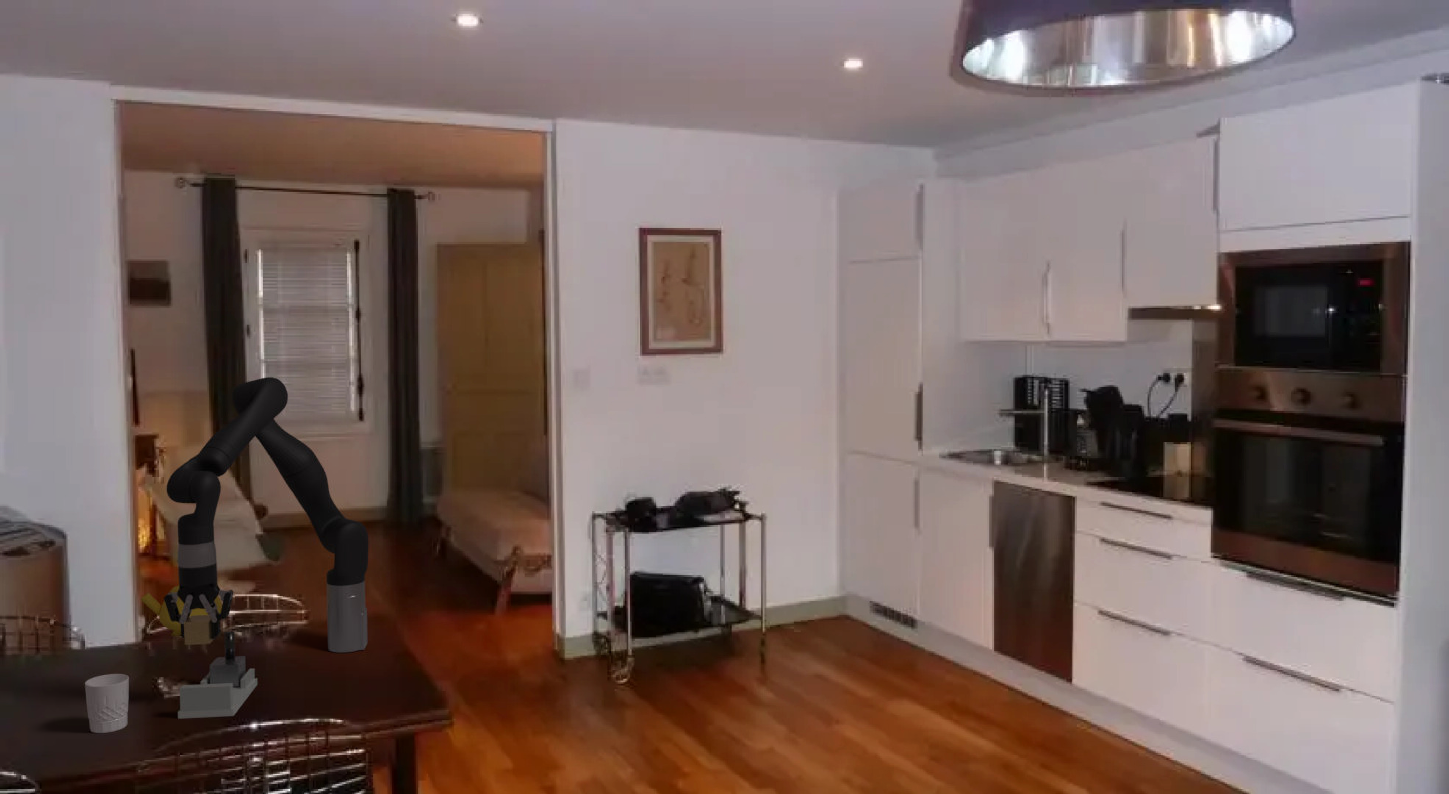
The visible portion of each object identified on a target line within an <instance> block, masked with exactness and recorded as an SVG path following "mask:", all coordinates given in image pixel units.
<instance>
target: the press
mask: <svg viewBox="0 0 1449 794" xmlns="http://www.w3.org/2000/svg"><path fill="white" fill-rule="evenodd" d="M255 670H256V669H255V668H249V669H248V670H247V672H246V674H245V675H244V676H243V678H242V679H241V684H240V685H239V686H233V683H223V684H210V671H208V673H207V674H206V675H205V677H203V678H202V680H201V681H200V684H187V685H186V684H185V685H184V684H183V685H182V686H181V687H179V707H180V709H179V710H178V711H177V719H178V720H179V719H196V718H197V719H199V718H200V719H201V718H202V719H203V718H215V717H216V718H218V717H219V718H220V717H234V716H235V715H236V713H237V712H238V710H239V709H240V708H241V707H242V705H243V704H244V703H245V702H246V700H247V699H248V697H249V696H250V695H251V693H252V692H253V691H254V690H255V689H256V687H257V686H258V678H257V677H256V678H255V676H256V675H255V674H256V673H255V672H256V671H255Z"/></svg>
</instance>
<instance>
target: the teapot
mask: <svg viewBox="0 0 1449 794" xmlns="http://www.w3.org/2000/svg"><path fill="white" fill-rule="evenodd" d="M178 590H179V584H178V585H176V586H174V587H172V588H171V590H170V591H169V592H168V593H170V592H171V593H175V592H178ZM163 600H164V599H163ZM140 601H141V602H142V603H143V604H145V605H146V606H147V607H148V608H149V610H151V611H152V612H154V613H155V614H156V615H157V616H158V617H159V621H160V623H161V624H162V625H163V627H165V628H166V629H167V630H170V631H171V630H172V633H171V634H170V635H171V636H173V637H178V636H181V625H180V623H179V622H176V621H174V622H173V621H171V620H170V616H169V613H168V610H167V607H166V603H165V600H164V601H163V602H162V604H160V603H159V602H158V600H157V599H155V598H154V597H153V596H152V595H151V593H149V592H147V593H145V594H144V595H143V596H142V597H141V598H140ZM214 601H215V603H216V605H217V610H218V612H219V614H220V613H221V609H222V604H223V601H222V600H221V597H220V595H218V596H217V598H216V599H215V600H214ZM176 604H177V607H178V610H179V613H180V615H182V610H183V607H184V603H183V602H182V600H181V599H180V598H179V597H178V600H177V601H176ZM196 615H209V614H207V612H206V610H205V609H200V608H197V609H193V610H192V612H191V614H190V617H191V616H196Z"/></svg>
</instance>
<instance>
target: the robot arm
mask: <svg viewBox="0 0 1449 794" xmlns="http://www.w3.org/2000/svg"><path fill="white" fill-rule="evenodd" d="M288 395H289V394H288V390H287V388H286V386H285V384H284V383H283V381H281V380H280V379H278V378H276V377H272V376H270V377H269V376H268V377H262V378H258V379H255V380H250V381H246V382H242V383H240V384H238V385H235V387H234V388H233V390H232V392H231V399H232V403H233V404H232V405H233V408H234V410H235V412H236V413H237V416H236V417H235V418H233V419H232V420H231V421H230V422H228V423H227V424H225V425H224V426H223V427H221V428H220V429H219V430H218V431H217V432H215V433H214V434H213V435H212V436H211V437H210V438H209V439H208V440H207V442H206V443H205V444H204V446H203V447H202V448H201V450H200V451H199V452H198V454H196V455H194V456H193V457H191V458H190V459H189V460H187V461H186V462H185V463H183V464H181V466H179V467H178V468H176V469H175V470H174V471H173V472H172V474H171V475H170V477H169V478H168V480H167V483H166V494H167V497H168V498H169V499H170V500H171V501H173V502H175V503H177V504H196V505H195V509H194V511H193V512H191V513H188V514H184V515H182V516H180V517H179V518H178V520H177V541H178V543H177V544H178V546H177V560H176V561H177V562H176V563H177V567H178V568H177V569H178V570H177V571H178V585H179V590H178V592H175V593H171V592H170V591H169V592H170V593H169V592H168V593H167V594H165V595H164V596H163V600H165V603H166V607H167V610H168V613H169V616H170V620H171V621H173V622H174V621H176V622H179V623H180V625H181V635H180V637H181V638H182V639H183V640H184V641H185V636H184V622H185V621H186V620H187V619H188V618H189V617H190V614H191V612H192V610H193V609H197V608H200V609H205V610H206V612H207V614H209V617H210V619H211V621H212V622H211V638H212V639H214V640H216V639H217V638H218V636H220V634H221V620H225V619H226V618H228V616H229V614H230V611H231V605H232V601H233V596H234V590H232V589H229V590H224V589H223V590H222V589H221V588H220V587H219V585H218V568H217V567H218V565H217V564H218V563H217V562H218V561H217V548H216V544H215V525H214V524H215V523H214V522H215V516H216V512H217V508H218V504H219V500H220V496H221V491H222V490H221V489H222V486H221V485H222V484H221V480H220V478H219V477H222V476H223V475H225V474H226V473H227V471H229V469H230V468H231V466H233V464H234V463H235V461H236V460H237V458H238V457H239V456H240V454H242V452H243V451H244V449H245V448H246V447H247V446H248V445H249V443H251V441H252V440H253V439H254V438H256V440H258V442H259V443H260V444H261V446H262V447H263V449H264V451H265V452H266V453H267V455H268V456H269V458H270V460H271V461H272V462H273V464H274V465H275V468H276V469H277V470H278V472H279V474H280V476H281V477H282V479H283V480H284V482H285V484H286V486H288V488H289V490H290V491H291V492H292V494H293V496H294V497H295V499H296V500H297V502H298V504H299V505H300V507H301V508H302V509H303V510H304V513H305V514H306V515H307V517H308V519H309V520H310V523H311V525H312V527H313V529H314V532H315V534H316V535H317V537H318V540H319V542H320V543H321V545H322V547H323V548H324V549H325V550H326V551H328V552H329V553H332V554H334V559H333V560H334V562H333V563H334V564H333V568H332V569H329V570H328V572H327V571H326V572H327V573H326V604H327V605H326V606H327V607H326V610H327V611H326V613H327V614H326V615H327V649H328V651H330V652H332V653H352V652H356V651H362V650H363V651H365V649H366V647H367V645H368V608H367V607H366V581H365V579H366V573H367V571H368V566H369V542H370V541H369V534H368V531H367V530H368V529H367V528H366V526H365V525H364V524H363V523H361V522H360V521H357V520H355V519H354V520H353V519H348V518H346V517H345V516H344V514H342V512H341V511H340V510H339V508H338V507H337V505H336V504H335V502H334V500H333V498H332V496H331V492H330V489H329V488H330V487H329V480H328V475H327V473H326V471H325V469H324V467H323V465H322V463H321V462H320V460H319V458H318V457H317V455H316V454H315V452H314V450H312V448H310V447H309V446H308V445H307V444H306V443H304V442H303V441H301V440H300V439H298V438H297V437H295V436H293V435H292V434H290V433H288V431H286V430H284V429H283V428H282V427H281V426H280V425H279V424H278V422H277V421H276V419H275V418H276V417H278V416H279V415H280V414H281V413H282V412H283V411H284V410H285V408H286V407H287V404H288V401H289V396H288ZM217 596H219V598H220V600H221V602H222V609H221V613H220V614H219V612H218V610H217V605H216V603H215V601H214V600H215V599H216V598H217ZM178 597H179V598H180V599H181V600H182V602H183V603H184V607H183V610H182V615H180V613H179V610H178V607H177V604H176V601H177V600H178Z"/></svg>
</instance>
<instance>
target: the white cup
mask: <svg viewBox="0 0 1449 794" xmlns="http://www.w3.org/2000/svg"><path fill="white" fill-rule="evenodd" d="M129 681H130V678H129V675H127V674H122V673H110V674H104V675H102V674H101V675H97V676H94V677H91V678H89V679H87V680H86V681H85V682H84V688H85V689H84V690H85V701H86V708H87V718H88V722H89V730H90V732H92V733H95V734H107V733H113V732H116V731H120V730H122V729H125V727H127V725H128V711H129V699H130V698H129V693H130V692H129V691H130V690H129V687H130V686H129V684H130V682H129Z"/></svg>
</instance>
